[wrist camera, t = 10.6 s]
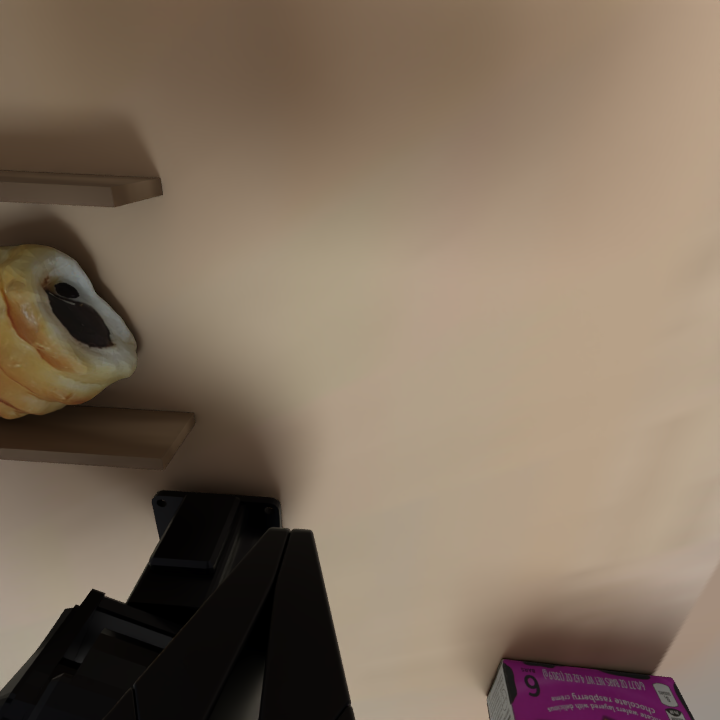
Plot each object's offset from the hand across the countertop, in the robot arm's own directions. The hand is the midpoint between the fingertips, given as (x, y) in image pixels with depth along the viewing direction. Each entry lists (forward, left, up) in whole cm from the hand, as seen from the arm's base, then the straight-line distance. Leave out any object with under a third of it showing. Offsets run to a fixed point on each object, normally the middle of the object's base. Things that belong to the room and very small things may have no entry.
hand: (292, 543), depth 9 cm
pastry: (0, +16, -13) cm, 21 cm away
